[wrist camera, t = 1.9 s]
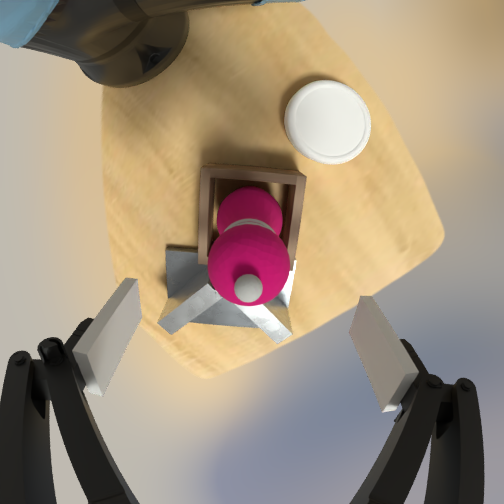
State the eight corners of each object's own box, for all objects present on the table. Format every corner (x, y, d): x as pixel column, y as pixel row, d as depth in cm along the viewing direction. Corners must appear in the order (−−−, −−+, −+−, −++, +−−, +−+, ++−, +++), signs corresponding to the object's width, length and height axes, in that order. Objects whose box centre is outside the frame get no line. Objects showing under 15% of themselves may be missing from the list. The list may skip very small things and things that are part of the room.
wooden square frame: (208, 163, 33) (201, 167, 28) (298, 171, 33) (306, 176, 29) (204, 247, 37) (198, 263, 33) (287, 254, 38) (292, 271, 33)
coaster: (351, 171, 34) (361, 175, 30) (275, 150, 33) (278, 152, 30) (368, 99, 30) (380, 96, 27) (293, 74, 29) (297, 68, 26)
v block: (171, 315, 42) (159, 345, 35) (167, 246, 37) (151, 270, 31) (283, 324, 42) (288, 356, 36) (294, 256, 38) (303, 283, 31)
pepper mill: (214, 229, 36) (180, 327, 18) (228, 175, 34) (201, 224, 15) (269, 243, 37) (285, 349, 19) (286, 190, 34) (326, 256, 16)
